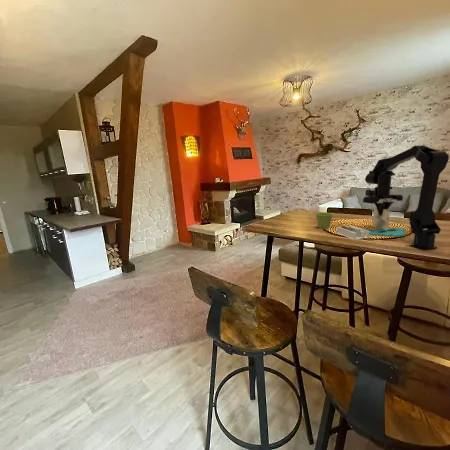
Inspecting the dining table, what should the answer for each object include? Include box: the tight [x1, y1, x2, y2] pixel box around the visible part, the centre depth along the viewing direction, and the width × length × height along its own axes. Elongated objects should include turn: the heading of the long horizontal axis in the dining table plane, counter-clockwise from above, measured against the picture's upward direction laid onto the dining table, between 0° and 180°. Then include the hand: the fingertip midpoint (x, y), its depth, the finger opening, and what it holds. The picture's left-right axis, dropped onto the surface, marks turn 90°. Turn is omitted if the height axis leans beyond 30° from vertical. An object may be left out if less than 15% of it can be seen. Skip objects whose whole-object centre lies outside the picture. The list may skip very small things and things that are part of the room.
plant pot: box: [315, 212, 334, 229], centre depth 148 cm, size 9×9×9 cm
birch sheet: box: [372, 207, 391, 230], centre depth 132 cm, size 9×1×10 cm, turn 11°
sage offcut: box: [350, 226, 360, 237], centre depth 128 cm, size 6×1×4 cm, turn 11°
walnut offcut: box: [340, 225, 351, 231], centre depth 131 cm, size 6×1×4 cm, turn 11°
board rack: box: [334, 224, 371, 240], centre depth 130 cm, size 14×10×4 cm
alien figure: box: [361, 226, 407, 238], centre depth 133 cm, size 20×2×20 cm
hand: (381, 215), depth 131 cm, fingers closed on birch sheet, 1 cm apart
